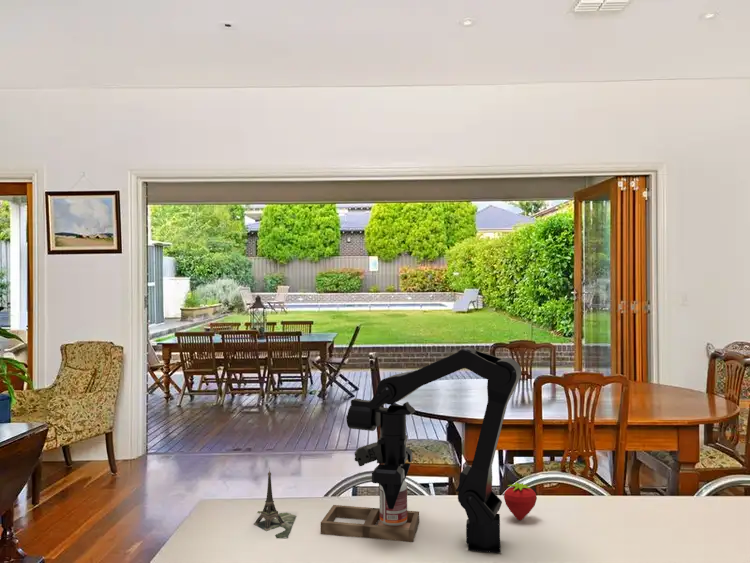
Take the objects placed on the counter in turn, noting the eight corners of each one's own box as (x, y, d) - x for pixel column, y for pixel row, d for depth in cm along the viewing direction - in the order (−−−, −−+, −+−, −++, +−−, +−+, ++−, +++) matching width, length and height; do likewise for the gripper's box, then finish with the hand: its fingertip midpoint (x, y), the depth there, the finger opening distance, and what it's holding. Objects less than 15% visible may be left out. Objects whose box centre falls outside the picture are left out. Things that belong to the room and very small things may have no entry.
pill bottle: (413, 521, 127) (412, 470, 128) (393, 529, 123) (393, 476, 123) (393, 513, 132) (392, 464, 132) (373, 521, 128) (373, 470, 128)
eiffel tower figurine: (288, 541, 123) (288, 478, 123) (241, 541, 123) (241, 478, 123) (298, 513, 138) (298, 458, 138) (256, 513, 138) (256, 458, 138)
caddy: (419, 522, 132) (419, 511, 132) (413, 542, 121) (413, 530, 121) (333, 515, 136) (333, 504, 136) (320, 533, 125) (320, 522, 125)
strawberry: (540, 525, 130) (540, 481, 130) (507, 526, 130) (507, 481, 130) (532, 515, 136) (532, 472, 136) (500, 515, 136) (500, 473, 136)
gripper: (366, 421, 138) (366, 486, 138) (347, 441, 120) (348, 516, 120) (412, 423, 136) (412, 489, 136) (400, 444, 118) (400, 520, 118)
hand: (393, 503), depth 128 cm, fingers closed on pill bottle, 6 cm apart
